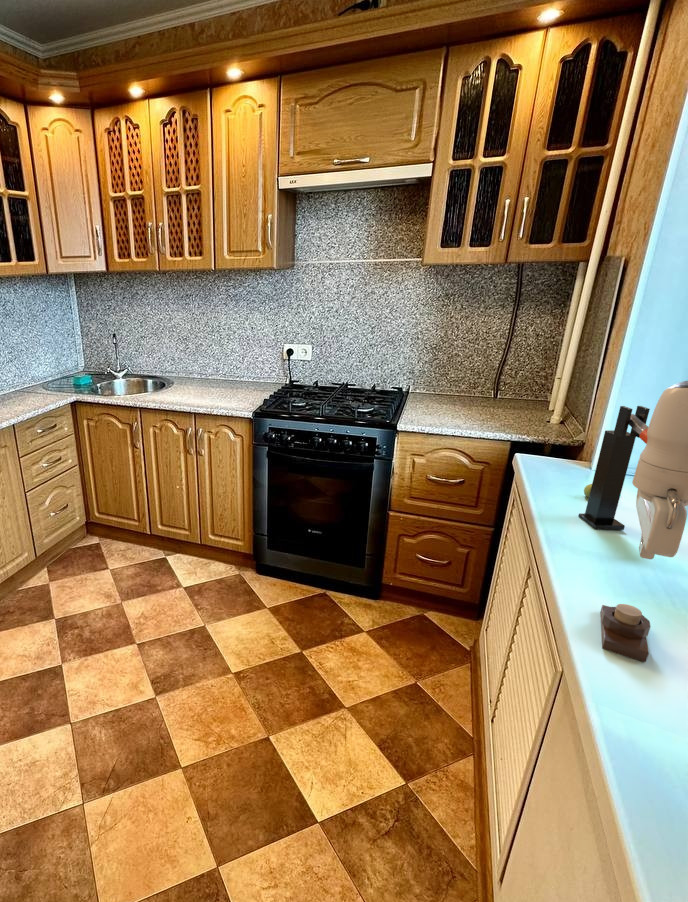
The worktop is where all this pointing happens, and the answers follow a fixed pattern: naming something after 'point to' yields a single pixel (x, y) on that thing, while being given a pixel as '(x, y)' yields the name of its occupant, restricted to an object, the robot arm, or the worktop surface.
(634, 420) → the lever
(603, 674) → the worktop surface
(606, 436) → the post
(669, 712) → the worktop surface
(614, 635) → the control block
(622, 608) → the button
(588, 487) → the lime
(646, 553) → the robot arm
